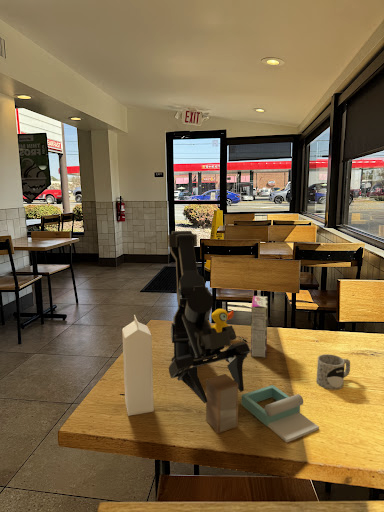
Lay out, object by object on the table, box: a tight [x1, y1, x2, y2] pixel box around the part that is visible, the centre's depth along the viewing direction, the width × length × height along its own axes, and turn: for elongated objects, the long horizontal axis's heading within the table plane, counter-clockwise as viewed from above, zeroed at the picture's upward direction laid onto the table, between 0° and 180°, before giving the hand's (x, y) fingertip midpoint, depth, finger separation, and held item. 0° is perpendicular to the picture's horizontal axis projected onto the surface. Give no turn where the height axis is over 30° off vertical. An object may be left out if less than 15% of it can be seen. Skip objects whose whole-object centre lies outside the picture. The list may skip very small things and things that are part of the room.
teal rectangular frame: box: [240, 384, 320, 443], centre depth 83 cm, size 16×10×5 cm, turn 28°
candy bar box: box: [250, 295, 269, 359], centre depth 116 cm, size 11×5×16 cm, turn 168°
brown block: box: [205, 373, 239, 434], centre depth 80 cm, size 5×5×10 cm
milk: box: [121, 314, 155, 417], centre depth 86 cm, size 6×6×22 cm
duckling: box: [208, 308, 235, 333], centre depth 128 cm, size 11×5×10 cm, turn 107°
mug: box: [316, 353, 351, 391], centre depth 98 cm, size 10×7×7 cm, turn 114°
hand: (224, 396), depth 79 cm, fingers open, 9 cm apart
